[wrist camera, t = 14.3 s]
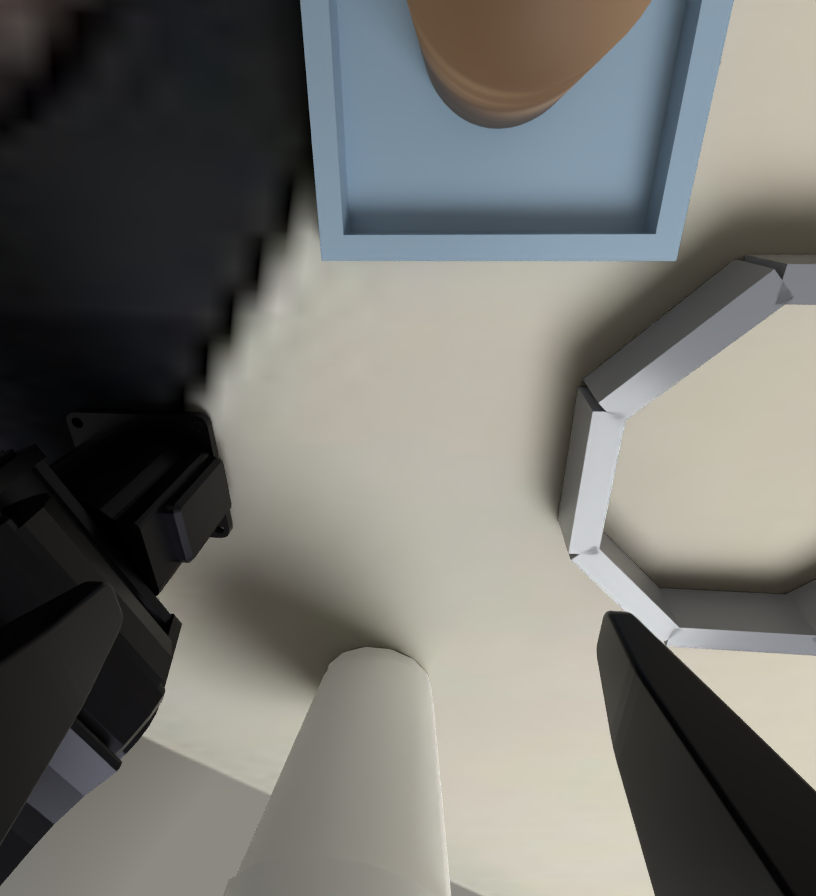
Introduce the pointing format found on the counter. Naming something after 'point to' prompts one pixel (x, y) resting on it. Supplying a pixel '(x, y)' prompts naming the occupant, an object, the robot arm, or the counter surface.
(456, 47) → the walnut cylinder
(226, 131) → the counter surface
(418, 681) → the foam cup
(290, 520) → the counter surface
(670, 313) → the holder ring
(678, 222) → the tray
